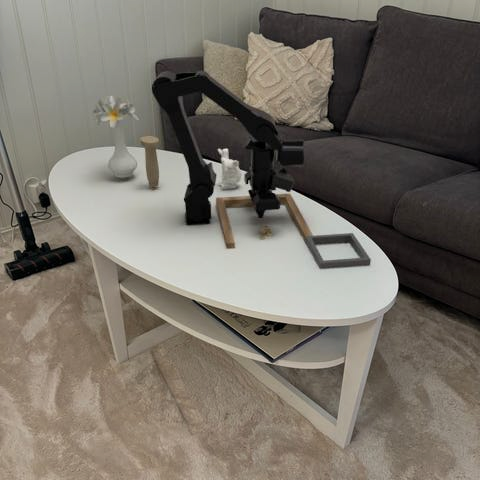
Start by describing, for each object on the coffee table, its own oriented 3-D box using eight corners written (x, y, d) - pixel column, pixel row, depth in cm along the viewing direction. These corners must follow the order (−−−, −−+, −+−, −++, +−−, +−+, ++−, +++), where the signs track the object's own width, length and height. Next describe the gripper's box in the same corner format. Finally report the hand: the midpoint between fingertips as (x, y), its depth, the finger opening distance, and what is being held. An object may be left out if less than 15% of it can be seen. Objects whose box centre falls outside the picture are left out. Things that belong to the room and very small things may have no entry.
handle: (151, 190, 144) (147, 144, 136) (142, 183, 149) (137, 137, 141) (165, 187, 147) (161, 140, 139) (156, 180, 151) (151, 134, 143)
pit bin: (319, 274, 108) (320, 263, 107) (305, 246, 118) (306, 236, 117) (368, 270, 110) (370, 259, 108) (351, 243, 120) (352, 233, 118)
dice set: (266, 231, 126) (266, 225, 125) (277, 240, 122) (277, 233, 121) (250, 236, 123) (250, 229, 122) (260, 245, 120) (261, 238, 119)
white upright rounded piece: (211, 185, 148) (210, 149, 142) (228, 179, 152) (228, 144, 146) (228, 194, 143) (228, 157, 136) (245, 188, 146) (245, 152, 140)
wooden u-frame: (226, 252, 116) (226, 243, 114) (216, 205, 137) (216, 197, 135) (313, 245, 119) (314, 237, 117) (289, 201, 140) (290, 193, 138)
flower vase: (130, 160, 165) (122, 87, 152) (151, 179, 151) (144, 101, 138) (94, 167, 159) (82, 93, 146) (112, 188, 145) (100, 107, 132)
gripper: (302, 177, 114) (297, 233, 122) (284, 150, 129) (281, 200, 137) (257, 180, 112) (255, 236, 120) (244, 151, 128) (243, 203, 136)
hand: (260, 217), depth 128 cm, fingers closed
